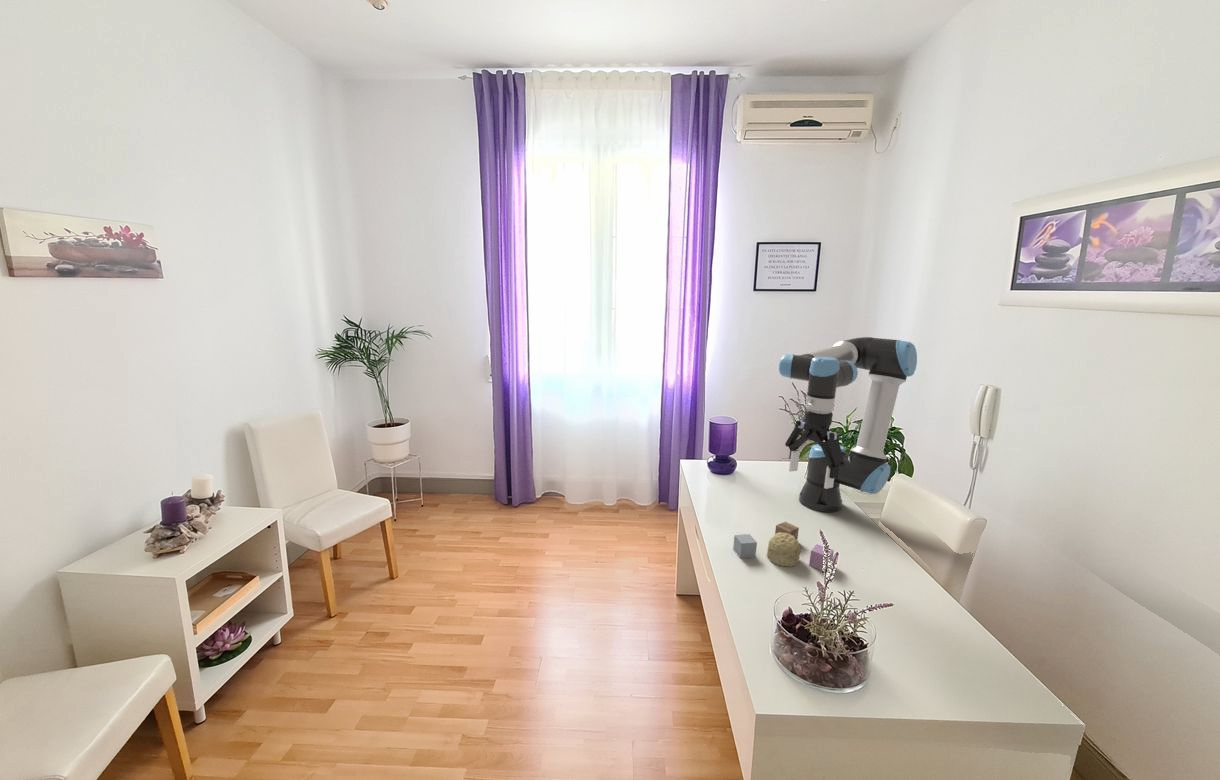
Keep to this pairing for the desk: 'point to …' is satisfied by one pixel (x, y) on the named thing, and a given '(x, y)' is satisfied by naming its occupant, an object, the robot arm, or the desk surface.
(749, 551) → the slate cube
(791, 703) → the desk surface
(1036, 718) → the desk surface
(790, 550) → the decorative object
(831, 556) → the plum cube
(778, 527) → the walnut cube
